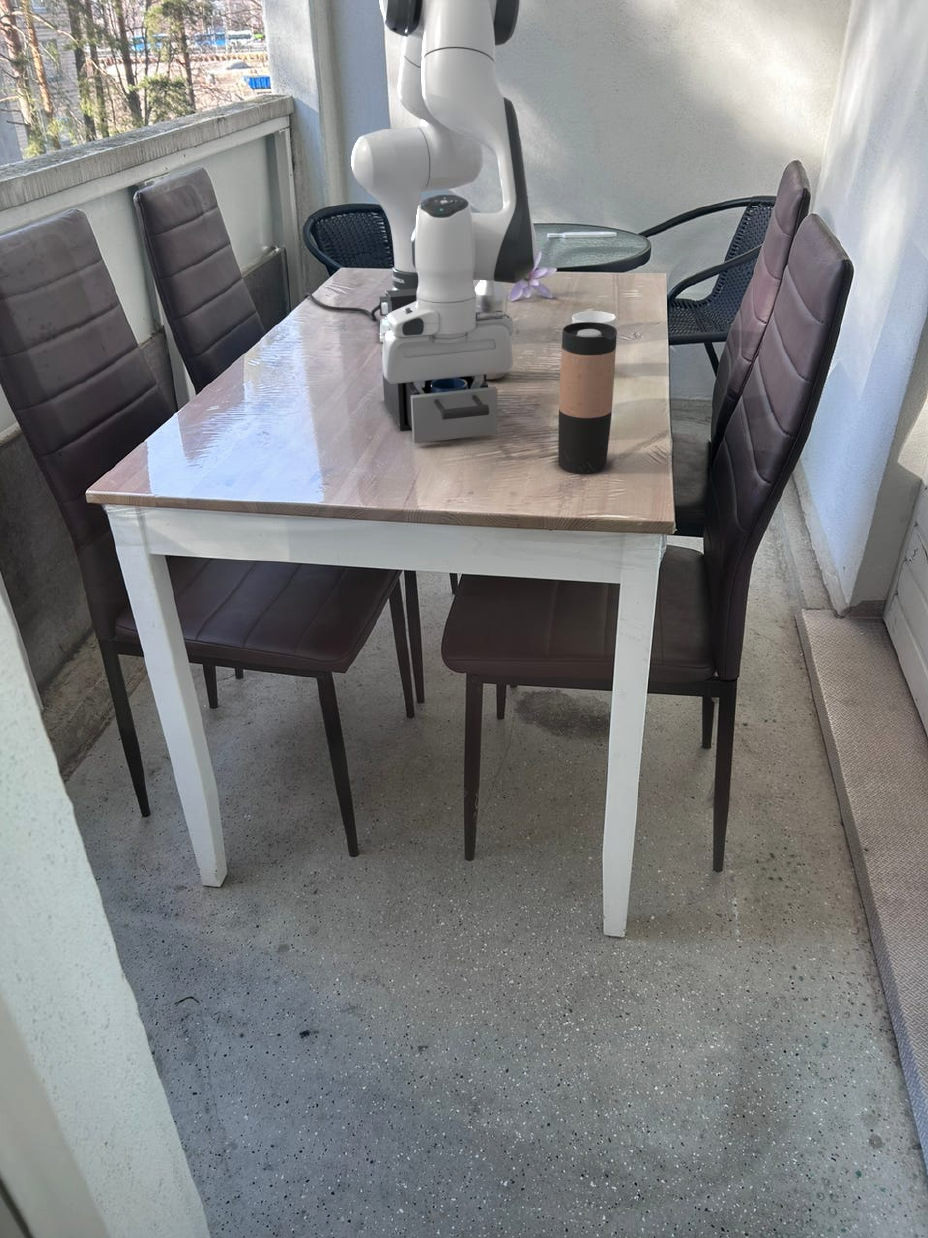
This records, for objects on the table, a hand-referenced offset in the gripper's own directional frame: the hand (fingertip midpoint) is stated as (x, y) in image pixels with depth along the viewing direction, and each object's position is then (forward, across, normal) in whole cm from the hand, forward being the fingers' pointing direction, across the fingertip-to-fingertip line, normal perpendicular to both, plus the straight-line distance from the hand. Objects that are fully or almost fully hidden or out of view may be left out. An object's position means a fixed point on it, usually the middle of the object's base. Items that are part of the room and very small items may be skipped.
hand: (448, 404), depth 150 cm
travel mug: (+5, -16, +17) cm, 24 cm away
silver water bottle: (+5, -14, -25) cm, 29 cm away
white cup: (+5, -33, -22) cm, 40 cm away
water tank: (-4, 0, -15) cm, 16 cm away
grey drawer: (+4, 0, +1) cm, 4 cm away
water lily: (+5, -38, -78) cm, 86 cm away
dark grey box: (+5, 0, -11) cm, 12 cm away
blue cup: (+2, 0, 0) cm, 2 cm away
